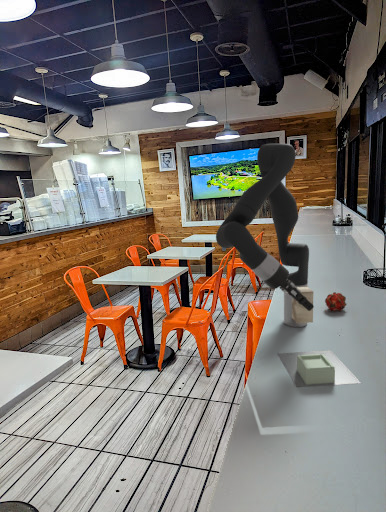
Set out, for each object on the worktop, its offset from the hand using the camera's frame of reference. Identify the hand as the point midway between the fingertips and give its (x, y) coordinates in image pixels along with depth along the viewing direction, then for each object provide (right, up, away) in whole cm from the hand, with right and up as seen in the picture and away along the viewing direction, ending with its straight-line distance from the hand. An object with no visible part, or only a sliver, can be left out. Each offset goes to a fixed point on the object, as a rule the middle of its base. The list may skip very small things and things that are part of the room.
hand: (308, 305), depth 107 cm
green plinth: (-1, -19, -8) cm, 21 cm away
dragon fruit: (+28, -9, +46) cm, 55 cm away
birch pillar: (-2, -5, +1) cm, 5 cm away
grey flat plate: (+1, -19, -2) cm, 20 cm away
